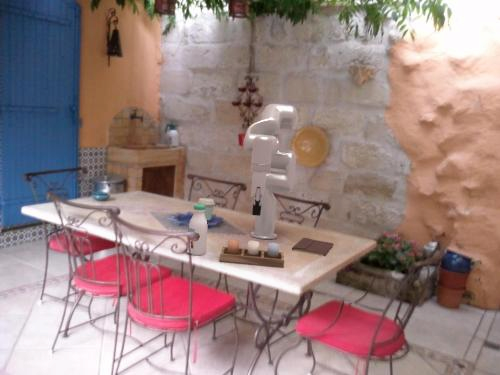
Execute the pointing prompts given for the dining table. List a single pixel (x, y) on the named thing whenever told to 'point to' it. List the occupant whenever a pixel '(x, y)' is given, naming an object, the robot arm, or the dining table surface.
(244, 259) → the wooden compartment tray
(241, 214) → the dining table surface
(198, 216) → the milk bottle
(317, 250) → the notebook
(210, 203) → the coffee cup
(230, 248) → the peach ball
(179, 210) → the dining table surface
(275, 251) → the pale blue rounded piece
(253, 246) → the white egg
